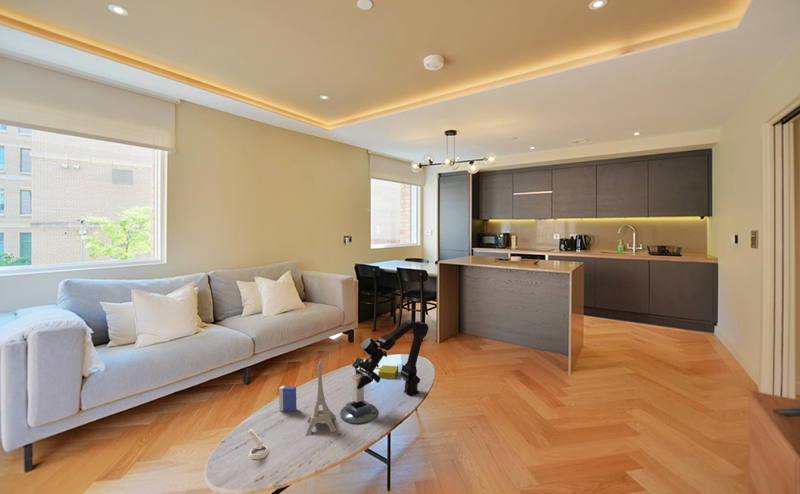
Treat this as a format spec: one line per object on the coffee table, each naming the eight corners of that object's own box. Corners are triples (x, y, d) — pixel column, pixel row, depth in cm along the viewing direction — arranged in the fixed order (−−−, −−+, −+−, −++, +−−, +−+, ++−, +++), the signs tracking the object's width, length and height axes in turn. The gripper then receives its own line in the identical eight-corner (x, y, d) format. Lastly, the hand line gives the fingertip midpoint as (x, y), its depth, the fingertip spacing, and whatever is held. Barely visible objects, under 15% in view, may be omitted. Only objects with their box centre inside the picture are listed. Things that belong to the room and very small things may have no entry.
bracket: (377, 357, 219) (399, 359, 216) (377, 369, 219) (399, 371, 216) (370, 367, 204) (394, 369, 201) (370, 379, 204) (395, 381, 201)
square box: (359, 396, 168) (359, 373, 167) (364, 399, 165) (363, 375, 164) (352, 399, 165) (352, 375, 165) (356, 402, 162) (356, 378, 162)
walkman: (296, 409, 170) (296, 385, 169) (294, 412, 167) (293, 388, 166) (282, 408, 171) (281, 385, 170) (279, 410, 168) (278, 387, 168)
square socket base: (364, 400, 178) (364, 392, 178) (384, 414, 164) (384, 405, 164) (333, 412, 167) (333, 403, 166) (352, 428, 153) (352, 418, 152)
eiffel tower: (335, 415, 163) (334, 355, 162) (335, 431, 150) (334, 366, 149) (306, 419, 161) (305, 357, 159) (305, 435, 148) (303, 368, 146)
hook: (237, 438, 137) (252, 425, 140) (255, 460, 138) (270, 446, 141) (235, 445, 130) (251, 430, 133) (255, 468, 131) (270, 453, 134)
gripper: (354, 346, 174) (336, 372, 168) (374, 356, 159) (355, 386, 153) (367, 357, 179) (350, 383, 173) (388, 368, 164) (369, 397, 158)
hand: (355, 387), depth 164 cm, fingers closed on square box, 4 cm apart
